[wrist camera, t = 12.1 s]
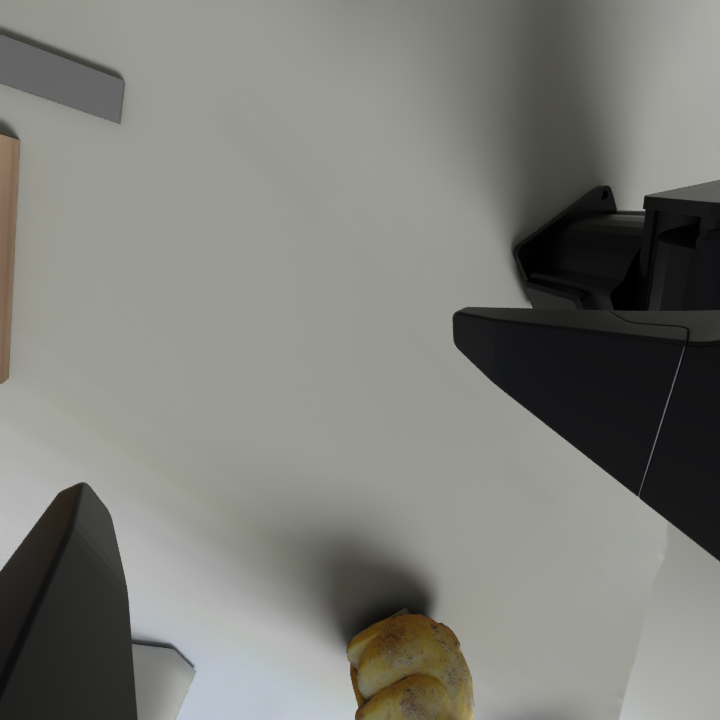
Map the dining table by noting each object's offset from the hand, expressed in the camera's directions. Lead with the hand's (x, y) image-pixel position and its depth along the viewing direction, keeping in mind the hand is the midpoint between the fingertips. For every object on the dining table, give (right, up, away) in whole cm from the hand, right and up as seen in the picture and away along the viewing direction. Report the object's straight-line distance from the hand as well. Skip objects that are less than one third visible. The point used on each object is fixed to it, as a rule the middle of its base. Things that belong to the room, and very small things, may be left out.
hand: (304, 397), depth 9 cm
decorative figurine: (+4, -20, +23) cm, 31 cm away
